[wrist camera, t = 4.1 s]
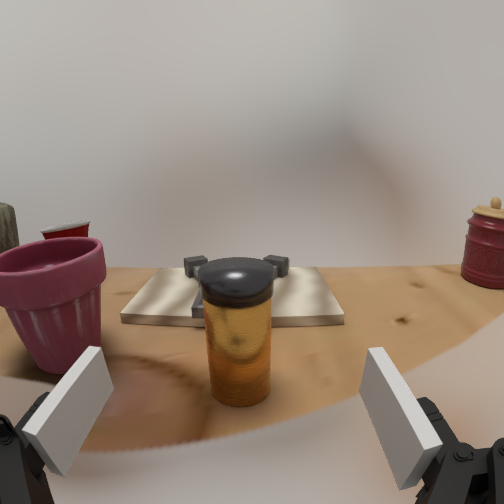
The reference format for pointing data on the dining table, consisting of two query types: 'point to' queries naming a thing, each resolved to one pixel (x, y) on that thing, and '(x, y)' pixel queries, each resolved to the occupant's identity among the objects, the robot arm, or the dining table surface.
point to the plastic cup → (67, 230)
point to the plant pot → (54, 298)
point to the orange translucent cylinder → (238, 327)
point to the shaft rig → (191, 303)
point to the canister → (485, 246)
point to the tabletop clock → (8, 228)
